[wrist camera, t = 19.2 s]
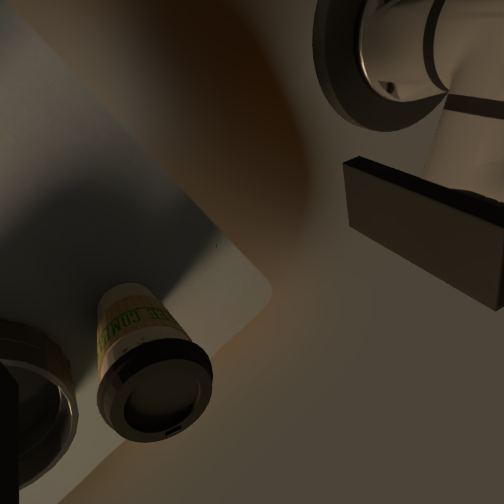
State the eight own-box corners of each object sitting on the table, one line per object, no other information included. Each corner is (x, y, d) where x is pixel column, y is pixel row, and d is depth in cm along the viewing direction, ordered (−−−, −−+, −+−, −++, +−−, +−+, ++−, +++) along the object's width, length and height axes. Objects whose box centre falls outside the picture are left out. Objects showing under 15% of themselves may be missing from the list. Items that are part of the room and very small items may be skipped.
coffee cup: (158, 254, 46) (208, 333, 34) (178, 324, 51) (228, 415, 39) (64, 286, 43) (82, 386, 31) (95, 358, 48) (121, 467, 36)
